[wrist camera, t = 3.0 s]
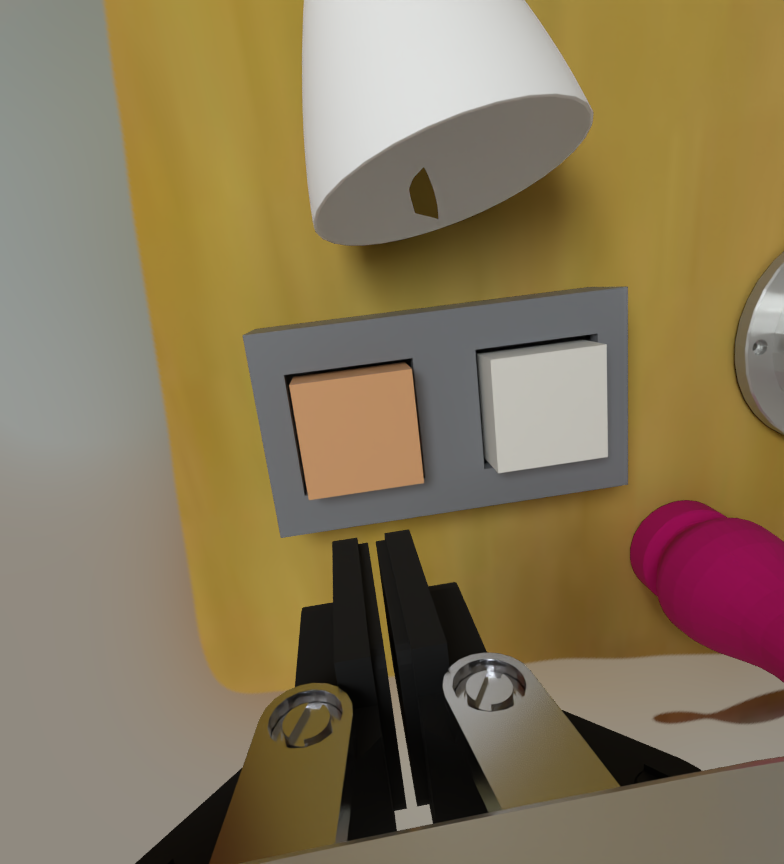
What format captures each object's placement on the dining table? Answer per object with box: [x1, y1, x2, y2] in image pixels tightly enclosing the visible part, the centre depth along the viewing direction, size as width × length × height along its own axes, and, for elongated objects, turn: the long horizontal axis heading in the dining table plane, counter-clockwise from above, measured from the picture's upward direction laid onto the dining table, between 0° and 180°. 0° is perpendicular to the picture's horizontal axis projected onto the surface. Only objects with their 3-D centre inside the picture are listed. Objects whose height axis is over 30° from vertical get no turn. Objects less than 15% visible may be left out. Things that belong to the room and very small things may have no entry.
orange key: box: [289, 362, 424, 500], centre depth 25 cm, size 5×5×2 cm
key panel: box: [243, 287, 628, 538], centre depth 28 cm, size 18×10×4 cm, turn 97°
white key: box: [477, 340, 608, 473], centre depth 26 cm, size 5×5×2 cm
